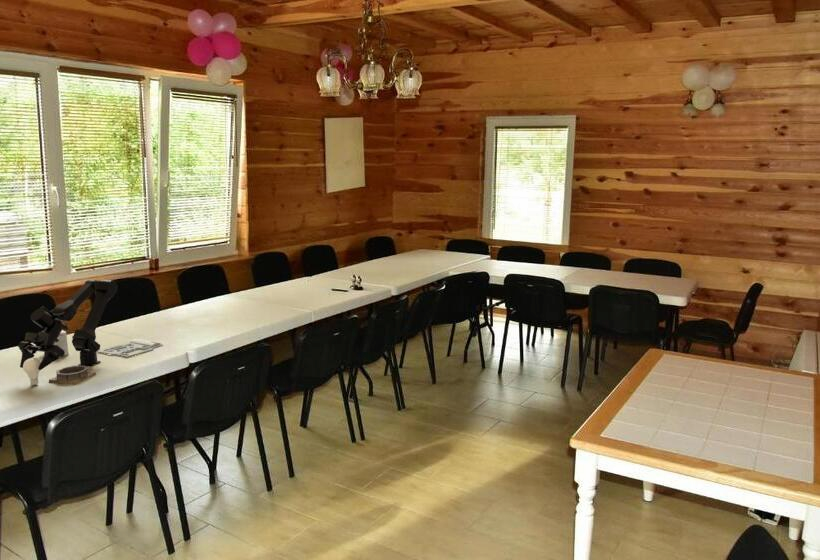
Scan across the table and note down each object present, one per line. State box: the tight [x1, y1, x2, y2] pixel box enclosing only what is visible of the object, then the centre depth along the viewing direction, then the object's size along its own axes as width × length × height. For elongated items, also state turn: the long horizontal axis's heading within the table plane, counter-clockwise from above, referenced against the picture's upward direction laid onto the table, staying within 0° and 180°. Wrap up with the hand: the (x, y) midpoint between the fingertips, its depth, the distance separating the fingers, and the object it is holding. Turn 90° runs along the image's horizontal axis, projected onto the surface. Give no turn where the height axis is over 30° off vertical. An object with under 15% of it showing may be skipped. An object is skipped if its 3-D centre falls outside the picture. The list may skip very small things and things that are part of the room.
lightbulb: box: [22, 357, 42, 386], centre depth 251 cm, size 6×6×11 cm
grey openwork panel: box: [96, 338, 164, 359], centre depth 299 cm, size 23×3×20 cm
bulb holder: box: [48, 364, 97, 385], centre depth 260 cm, size 12×12×4 cm
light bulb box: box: [54, 330, 70, 356], centre depth 292 cm, size 11×7×11 cm, turn 47°
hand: (30, 368), depth 250 cm, fingers open, 9 cm apart
